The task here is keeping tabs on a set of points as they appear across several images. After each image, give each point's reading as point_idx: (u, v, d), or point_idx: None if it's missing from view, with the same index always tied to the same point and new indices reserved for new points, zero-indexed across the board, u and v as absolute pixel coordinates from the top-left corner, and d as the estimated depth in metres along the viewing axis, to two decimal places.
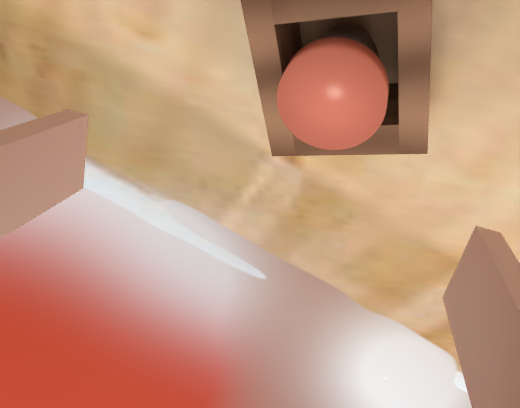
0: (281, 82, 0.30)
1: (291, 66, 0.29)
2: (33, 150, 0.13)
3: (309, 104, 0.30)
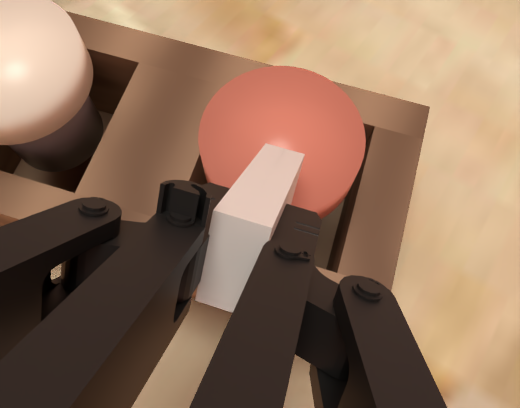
0: (221, 185, 0.19)
1: (205, 161, 0.19)
2: None
3: None
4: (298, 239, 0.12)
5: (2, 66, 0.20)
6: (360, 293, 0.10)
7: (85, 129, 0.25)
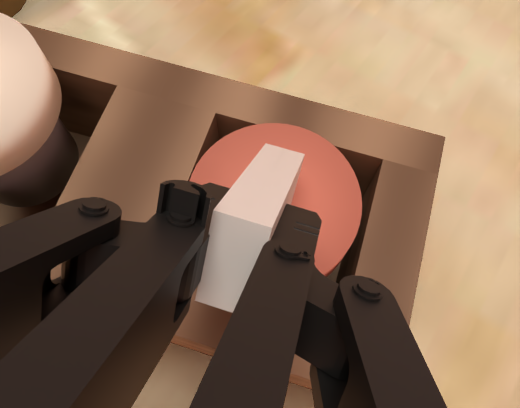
0: None
1: None
2: None
3: None
4: (298, 239, 0.12)
5: None
6: (360, 293, 0.10)
7: (56, 160, 0.22)
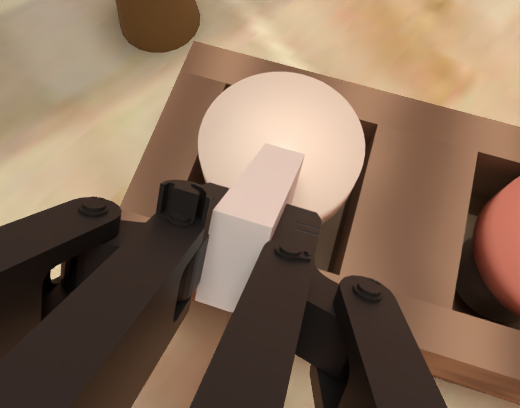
0: None
1: (507, 270, 0.19)
2: None
3: None
4: (299, 239, 0.12)
5: None
6: (360, 294, 0.10)
7: None
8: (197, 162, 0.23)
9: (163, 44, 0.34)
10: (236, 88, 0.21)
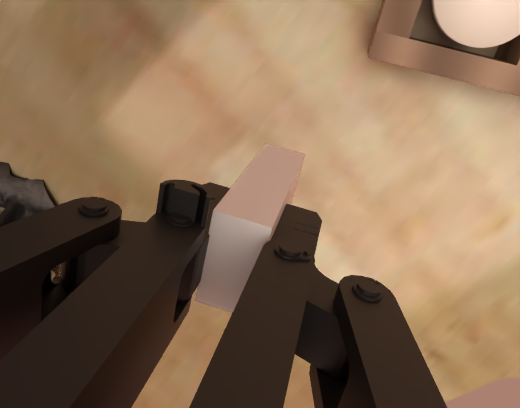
0: None
1: None
2: None
3: None
4: (298, 239, 0.12)
5: (494, 4, 0.32)
6: (360, 293, 0.10)
7: None
8: None
9: None
10: None
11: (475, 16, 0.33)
